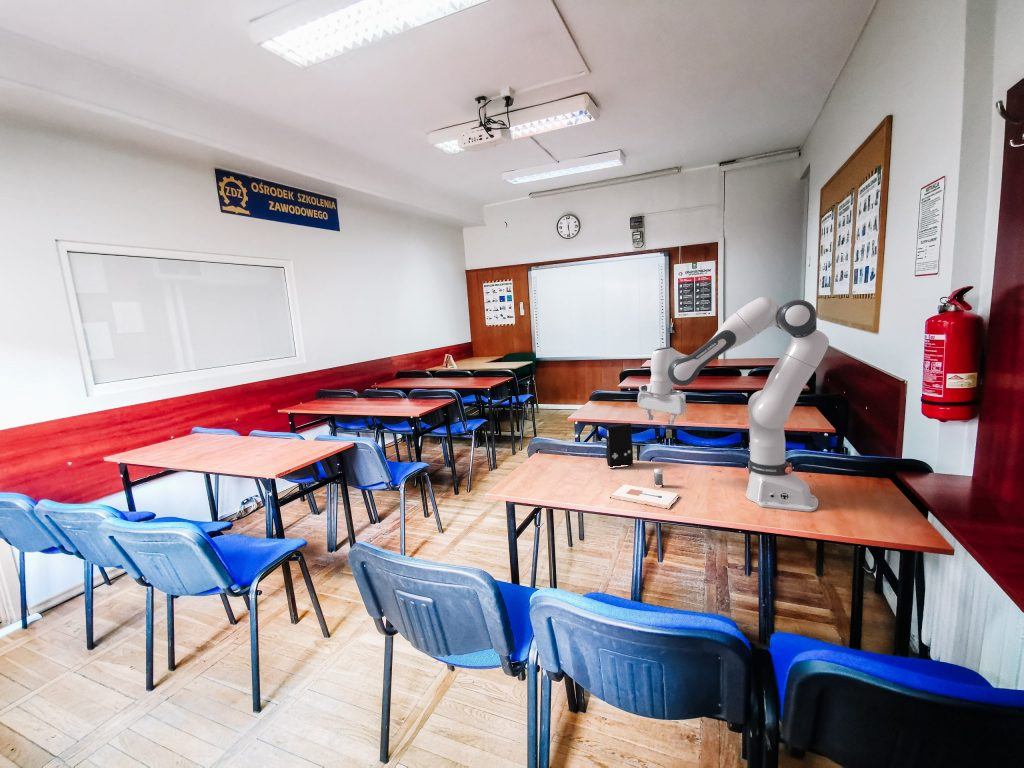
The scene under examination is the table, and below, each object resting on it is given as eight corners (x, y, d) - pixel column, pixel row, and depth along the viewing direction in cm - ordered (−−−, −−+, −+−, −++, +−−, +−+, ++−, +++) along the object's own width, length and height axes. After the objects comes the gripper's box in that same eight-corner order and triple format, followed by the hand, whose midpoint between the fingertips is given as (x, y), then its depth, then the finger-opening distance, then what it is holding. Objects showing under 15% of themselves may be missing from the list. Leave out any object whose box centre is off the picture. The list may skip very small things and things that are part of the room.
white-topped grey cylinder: (664, 485, 181) (663, 469, 180) (661, 488, 179) (660, 471, 178) (656, 484, 183) (655, 468, 182) (653, 487, 181) (652, 470, 180)
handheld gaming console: (610, 469, 204) (608, 427, 201) (606, 466, 209) (603, 425, 206) (634, 465, 207) (632, 424, 204) (628, 462, 212) (627, 422, 209)
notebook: (680, 496, 169) (680, 493, 169) (668, 509, 159) (668, 506, 159) (623, 486, 183) (623, 483, 183) (609, 498, 173) (609, 494, 173)
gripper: (690, 390, 169) (688, 425, 171) (645, 384, 185) (644, 416, 187) (680, 392, 165) (679, 428, 168) (635, 386, 181) (634, 418, 184)
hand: (660, 421), depth 178 cm, fingers open, 8 cm apart
